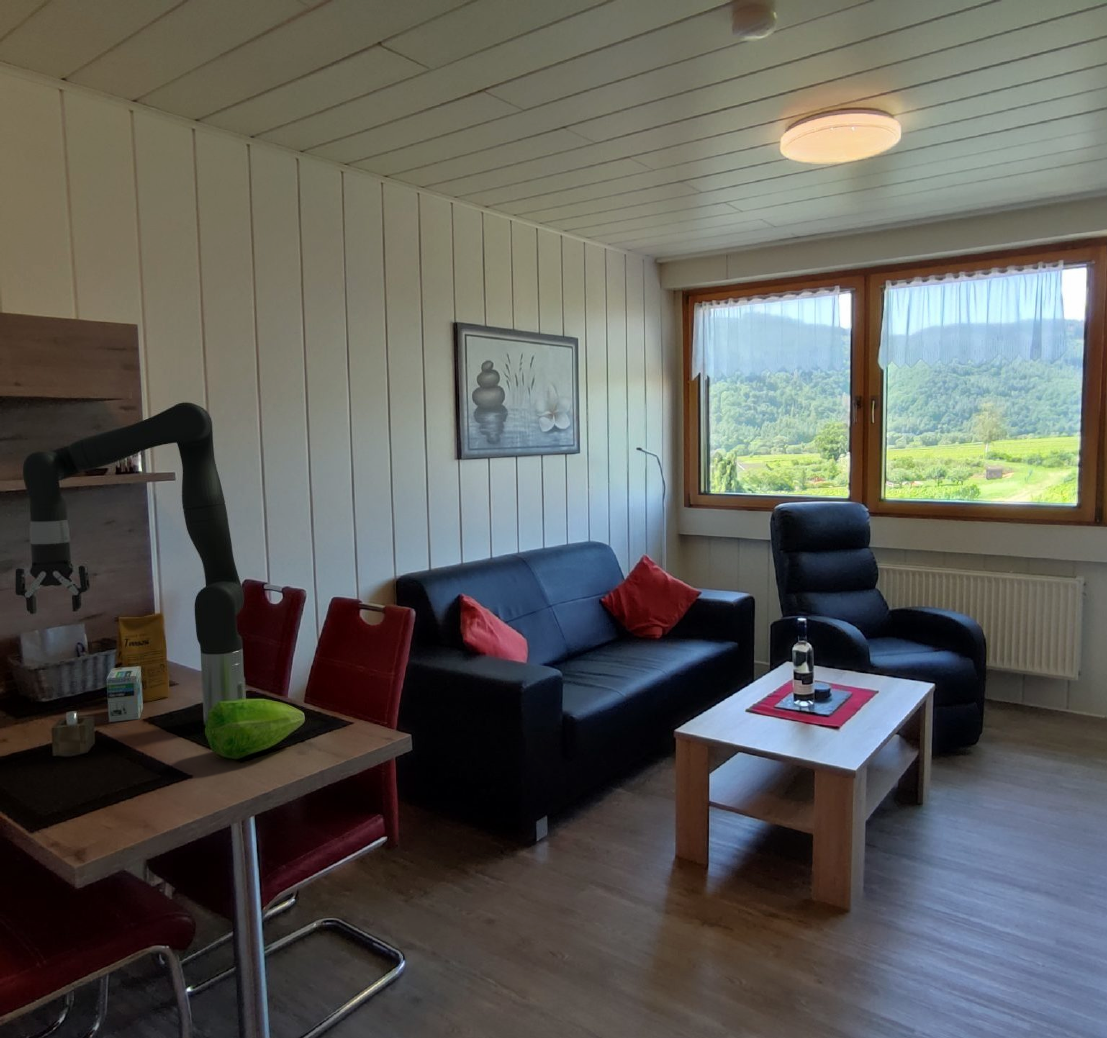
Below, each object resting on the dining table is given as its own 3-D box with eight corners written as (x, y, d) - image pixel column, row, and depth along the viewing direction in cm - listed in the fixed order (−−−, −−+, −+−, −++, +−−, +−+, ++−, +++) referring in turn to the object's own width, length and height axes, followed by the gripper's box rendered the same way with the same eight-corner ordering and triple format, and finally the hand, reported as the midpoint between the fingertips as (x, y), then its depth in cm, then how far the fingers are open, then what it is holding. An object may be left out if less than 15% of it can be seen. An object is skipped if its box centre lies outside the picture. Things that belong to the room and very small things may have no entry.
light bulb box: (139, 719, 200) (137, 675, 199) (108, 723, 197) (105, 678, 196) (143, 707, 210) (141, 665, 209) (113, 710, 207) (111, 667, 206)
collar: (95, 742, 182) (93, 715, 182) (86, 752, 176) (85, 724, 175) (62, 745, 180) (60, 718, 180) (53, 755, 174) (51, 727, 174)
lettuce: (312, 753, 175) (310, 698, 174) (210, 772, 166) (207, 713, 165) (298, 734, 187) (296, 682, 186) (202, 751, 178) (199, 696, 177)
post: (93, 745, 182) (90, 707, 181) (85, 755, 176) (83, 715, 175) (62, 748, 180) (60, 709, 179) (53, 758, 174) (51, 718, 174)
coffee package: (114, 697, 218) (109, 614, 216) (165, 689, 225) (161, 609, 223) (118, 707, 210) (113, 621, 208) (172, 698, 216) (167, 615, 215)
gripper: (90, 537, 192) (94, 607, 193) (20, 540, 188) (24, 611, 189) (81, 541, 184) (85, 613, 186) (8, 543, 181) (12, 617, 182)
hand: (54, 612), depth 188 cm, fingers open, 8 cm apart
